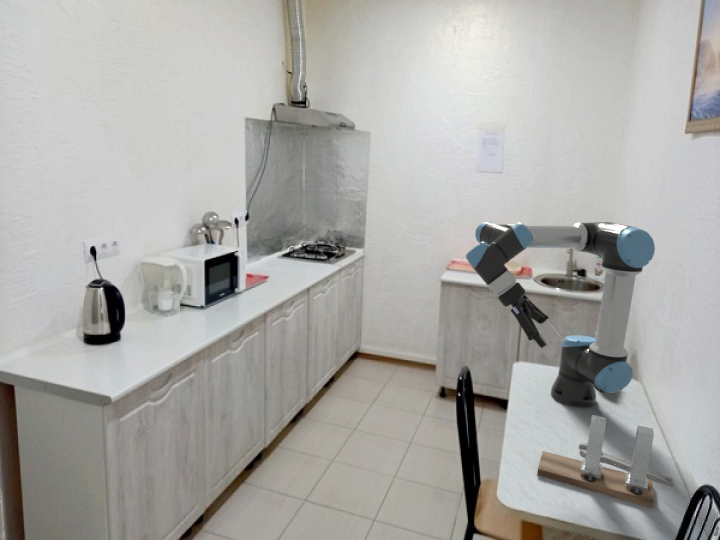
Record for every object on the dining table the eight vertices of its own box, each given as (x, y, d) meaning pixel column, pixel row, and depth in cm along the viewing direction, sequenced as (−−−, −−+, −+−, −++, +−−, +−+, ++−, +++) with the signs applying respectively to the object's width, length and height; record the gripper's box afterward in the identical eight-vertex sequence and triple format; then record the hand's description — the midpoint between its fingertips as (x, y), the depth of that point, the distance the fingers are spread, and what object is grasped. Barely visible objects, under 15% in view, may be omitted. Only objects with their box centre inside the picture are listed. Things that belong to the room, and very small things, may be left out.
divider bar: (541, 457, 153) (542, 450, 153) (650, 486, 141) (652, 479, 141) (537, 475, 144) (538, 468, 144) (652, 508, 133) (654, 500, 132)
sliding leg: (581, 464, 146) (589, 412, 142) (601, 469, 144) (609, 417, 140) (579, 477, 140) (587, 424, 136) (600, 483, 138) (608, 429, 134)
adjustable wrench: (674, 484, 144) (675, 478, 143) (667, 494, 139) (668, 488, 139) (582, 445, 161) (583, 440, 160) (573, 454, 156) (574, 448, 156)
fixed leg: (625, 477, 141) (634, 423, 138) (646, 483, 139) (656, 428, 136) (625, 491, 136) (635, 435, 132) (647, 497, 133) (657, 440, 130)
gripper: (505, 287, 167) (549, 340, 164) (487, 306, 145) (538, 369, 142) (524, 273, 164) (569, 327, 161) (509, 291, 142) (561, 354, 139)
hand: (555, 347), depth 152 cm, fingers open, 13 cm apart
